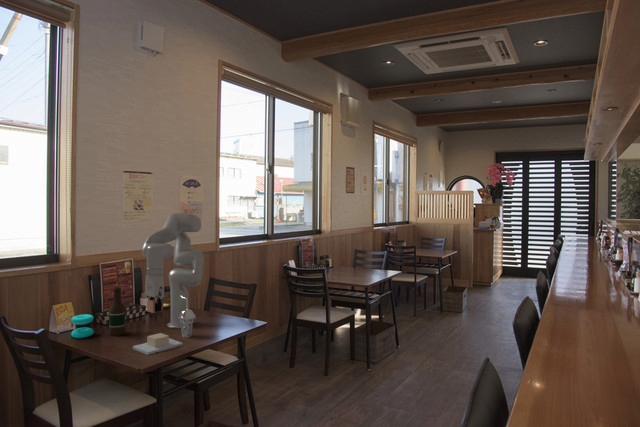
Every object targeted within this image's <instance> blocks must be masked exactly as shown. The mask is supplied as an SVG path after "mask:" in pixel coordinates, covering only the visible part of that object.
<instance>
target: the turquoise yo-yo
mask: <svg viewBox="0 0 640 427" xmlns="http://www.w3.org/2000/svg"><path fill="white" fill-rule="evenodd" d="M94 317H95V316H93V315H92V314H88V313H86V314H85V313H84V314H78V315H75V316H72V318H71V323H72V324H74V325H78V326H79V325H87V324H90V323H92V322H93V321H94ZM94 332H95V331H94V329H93V328H92V327H87V326H83V327H78V328H75V329H74V330H72V332H71V336H72V338H75V339H83V338H88V337H91V336H93V334H94Z"/></svg>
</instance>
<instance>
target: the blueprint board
mask: <svg viewBox="0 0 640 427" xmlns="http://www.w3.org/2000/svg"><path fill="white" fill-rule="evenodd" d="M183 345H184V343H183V342H181V341H180V340H176V339H173V338H170V335H168V334H165V333H162V332H160V333H156V334H151V335H147V336H146V342H144V343H141V344H135V345H132V350H134V351H137V352H140V353H142V354H144V355H147V356H149V355H152V354H156V352H157V353H161V352H164V351H167V350H168V351H169V350H170V349H175V348H178V346H179V347H183Z"/></svg>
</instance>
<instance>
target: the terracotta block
mask: <svg viewBox="0 0 640 427" xmlns="http://www.w3.org/2000/svg"><path fill="white" fill-rule="evenodd" d="M155 303H156V301H155V299H154V300H148V299H147V300H146V304H147V306H146V308H147V309H146V311H147V312H148V313H152V314H154V313H155V314H156V312H155ZM163 303H164V299H163V300H162V311H159V312H158V313H160V312H163V311H164V309H163V308H164V307H163V306H164V304H163Z"/></svg>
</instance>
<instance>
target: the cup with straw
mask: <svg viewBox="0 0 640 427" xmlns="http://www.w3.org/2000/svg"><path fill="white" fill-rule="evenodd" d="M180 297H181V298H183V299H186V309H184V310H183V311H182V312H181V313H180V315H179V316H178V318H179V319H180V323H181V328H180V330H181V335H182V336H181V337H182V338H184V339H185V338H186V339H187V338H190V337H192V333H193V325H194V321H195V319H194V318H195V316H196V314H195V313H194V312H193V310H191V309H190V308H189V303H188V299H187V298H185V297H182V296H180Z"/></svg>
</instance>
